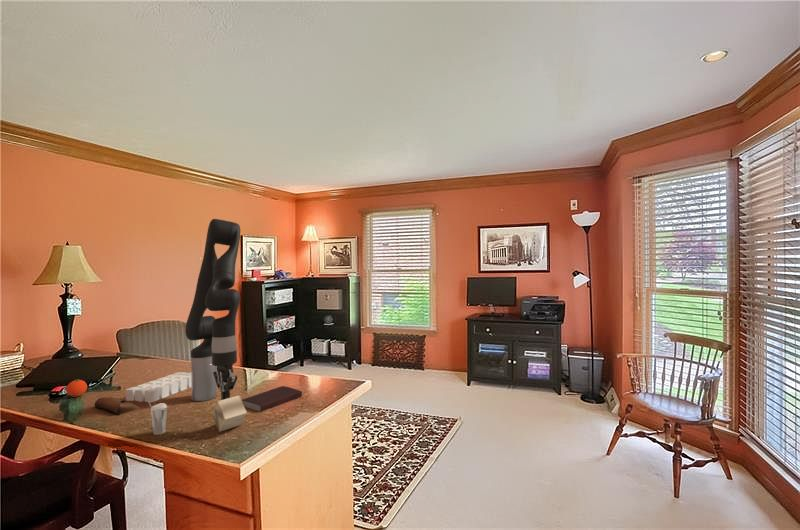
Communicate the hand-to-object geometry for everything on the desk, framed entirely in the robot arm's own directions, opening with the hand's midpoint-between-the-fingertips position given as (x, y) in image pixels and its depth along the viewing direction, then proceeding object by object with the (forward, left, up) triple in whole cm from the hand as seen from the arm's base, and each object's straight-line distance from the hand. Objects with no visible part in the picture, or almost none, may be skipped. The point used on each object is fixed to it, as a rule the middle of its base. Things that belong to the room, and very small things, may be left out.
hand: (225, 401), depth 127 cm
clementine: (-85, -25, -8) cm, 89 cm away
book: (-10, +23, -9) cm, 27 cm away
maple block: (0, 0, -6) cm, 6 cm away
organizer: (-63, +5, -9) cm, 63 cm away
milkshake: (-13, -16, -8) cm, 22 cm away
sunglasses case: (-52, -18, -9) cm, 56 cm away
